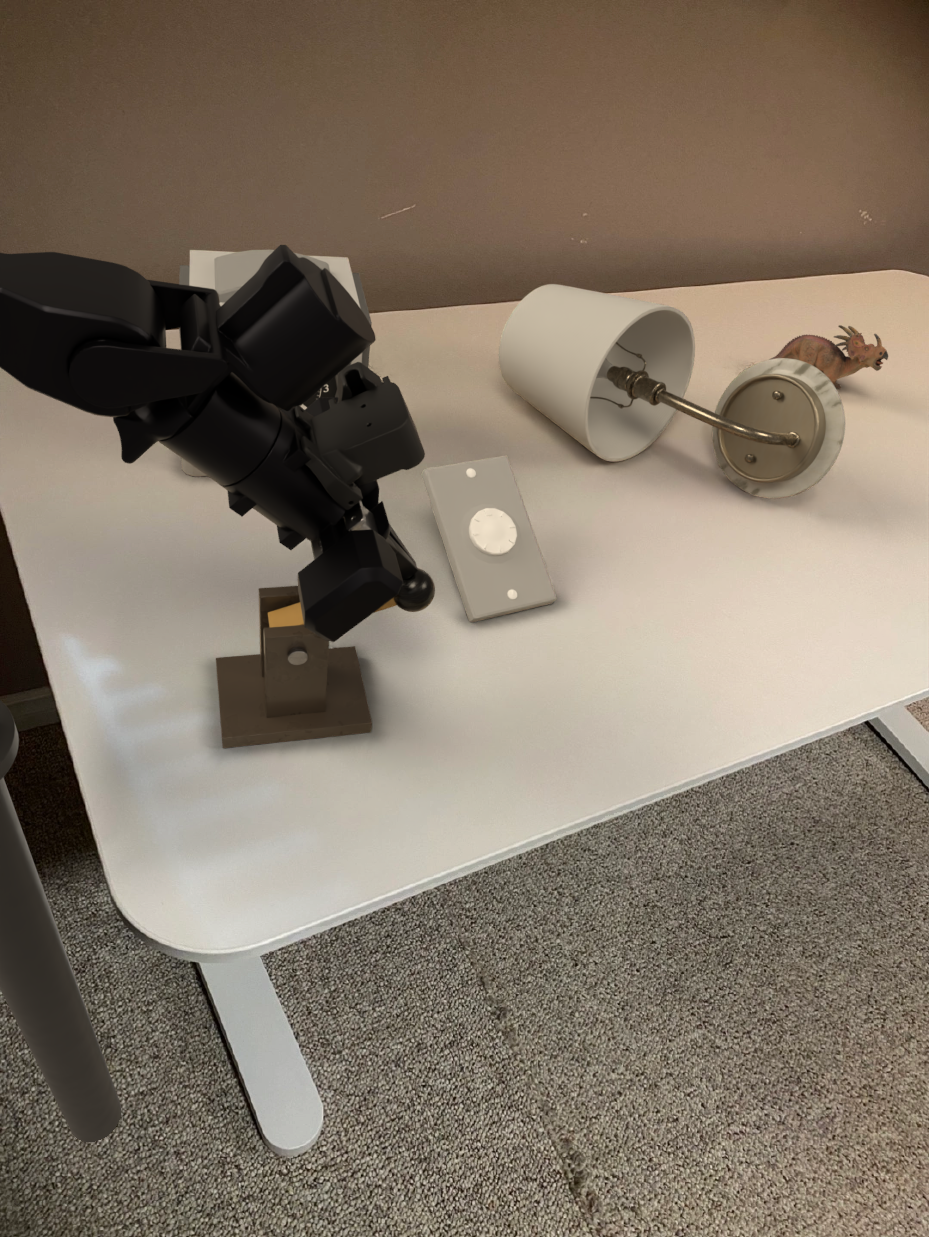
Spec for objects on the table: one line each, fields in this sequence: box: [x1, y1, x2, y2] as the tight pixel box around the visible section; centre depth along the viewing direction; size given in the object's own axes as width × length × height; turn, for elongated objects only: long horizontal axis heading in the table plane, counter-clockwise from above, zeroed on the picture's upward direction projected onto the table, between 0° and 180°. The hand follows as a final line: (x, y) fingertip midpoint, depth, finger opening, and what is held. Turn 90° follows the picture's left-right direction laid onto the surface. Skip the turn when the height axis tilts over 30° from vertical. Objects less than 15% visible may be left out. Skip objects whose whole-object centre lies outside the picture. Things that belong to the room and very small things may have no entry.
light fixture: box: [497, 283, 846, 500], centre depth 97 cm, size 17×19×34 cm
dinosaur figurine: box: [768, 324, 889, 389], centre depth 117 cm, size 14×6×9 cm, turn 75°
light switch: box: [420, 455, 558, 623], centre depth 85 cm, size 8×6×14 cm
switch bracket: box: [215, 585, 373, 749], centre depth 69 cm, size 11×8×10 cm
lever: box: [268, 567, 436, 627], centre depth 67 cm, size 12×3×3 cm, turn 104°
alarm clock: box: [178, 249, 373, 477], centre depth 90 cm, size 18×13×18 cm
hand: (412, 571), depth 65 cm, fingers closed
